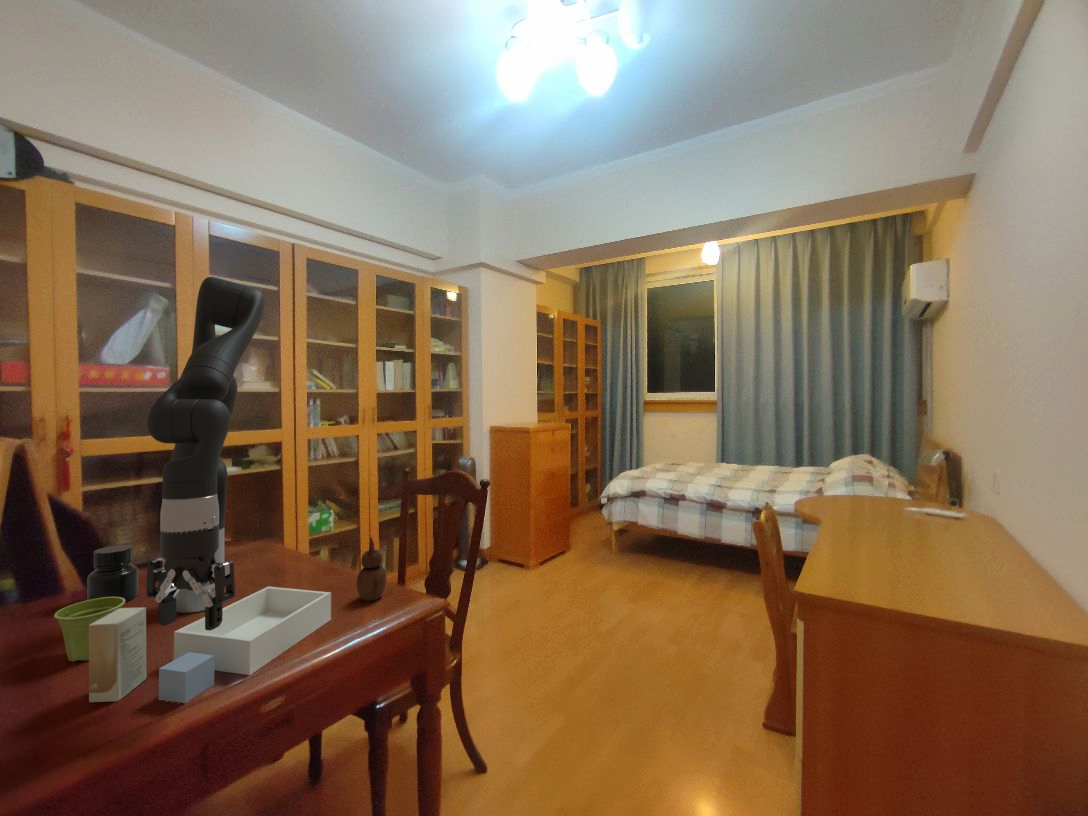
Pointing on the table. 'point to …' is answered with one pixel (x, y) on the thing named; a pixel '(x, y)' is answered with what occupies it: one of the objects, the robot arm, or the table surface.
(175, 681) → the cube
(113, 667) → the skincare box
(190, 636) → the tote
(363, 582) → the wooden figurine
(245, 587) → the table surface
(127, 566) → the ink bottle
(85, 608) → the plant pot
